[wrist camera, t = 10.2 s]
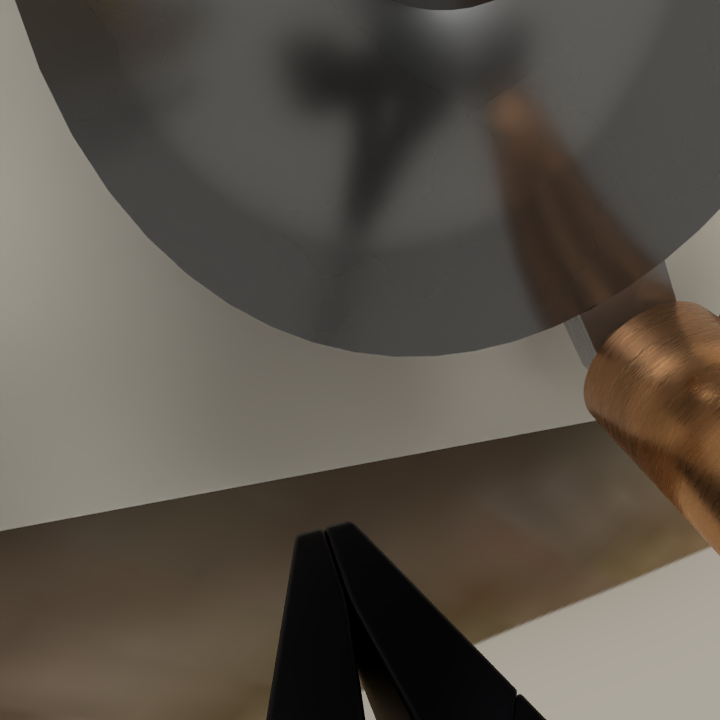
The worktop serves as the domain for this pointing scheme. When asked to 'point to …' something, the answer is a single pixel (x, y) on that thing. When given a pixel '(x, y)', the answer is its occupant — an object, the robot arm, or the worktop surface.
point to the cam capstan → (428, 180)
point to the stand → (210, 352)
